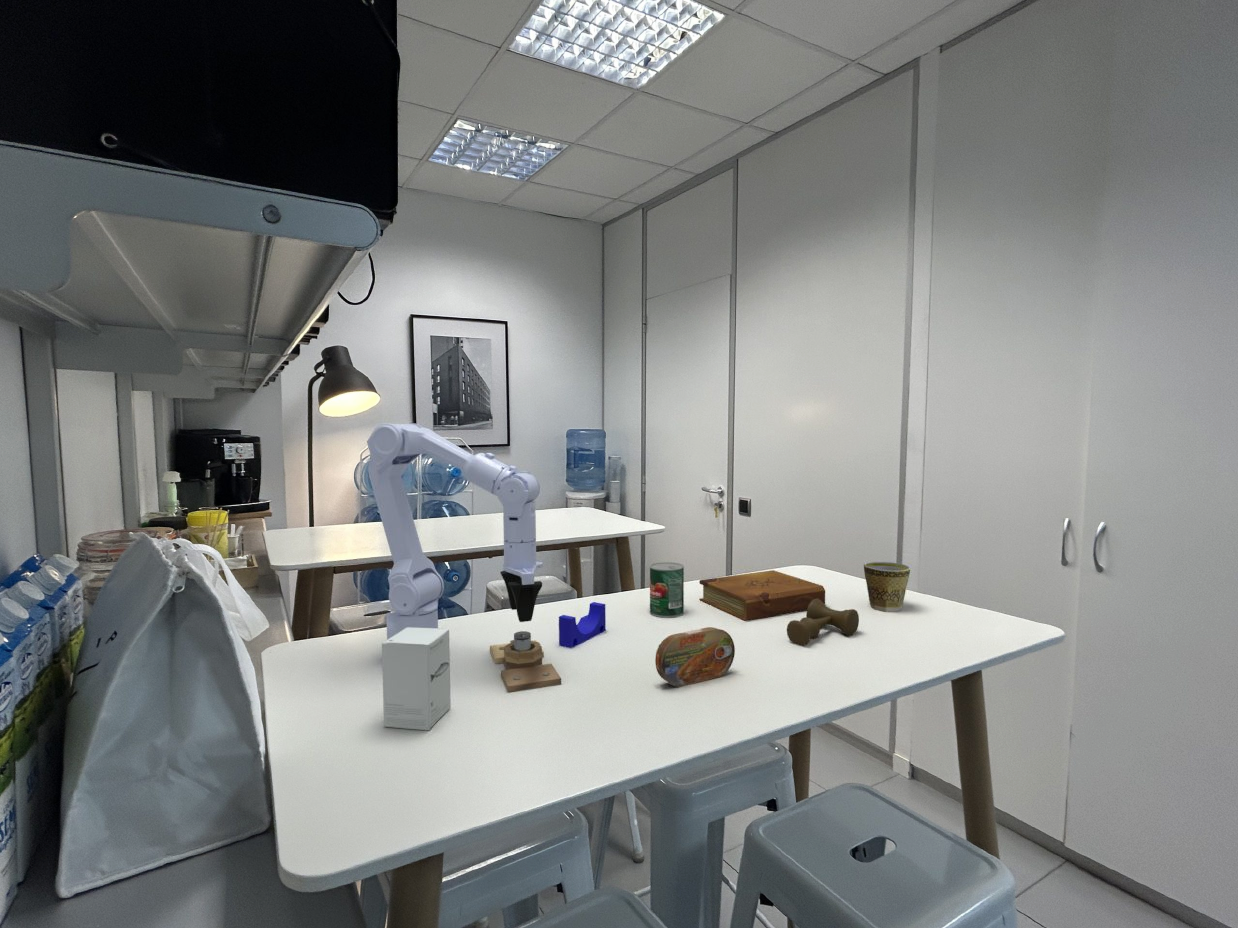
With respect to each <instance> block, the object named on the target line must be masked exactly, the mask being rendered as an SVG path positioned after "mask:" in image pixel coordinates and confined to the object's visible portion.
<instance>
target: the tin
mask: <svg viewBox="0 0 1238 928" xmlns="http://www.w3.org/2000/svg"><path fill="white" fill-rule="evenodd" d="M735 652H736V648H735V642H734V639H733V638H732V636H731V634H729V632H727V631H726V630H723V629H721V628H716V627H712V626H711V627H710V626H709V627H704V628H698V629H697V628H696V629H695V630H693V629H692V630H688V631H683V632H678V633H675V634H671V635H668V636H667V637H666V638H664V639H663V640H661V643H660V644H659V645H658V647H657V649H656V652H655V662H654V663H655V668H656V672H657V674H658V675H659V677H660V678H661V679H662V680H664V681H665V682H667V683H668V684H669V685H671V686H674V687H677V688H682V687H686V686H691V685H693V684H694V685H695V684H698V683H701V682H706V681H709V680H714V679H717V678H720V677H722V676H724V675H725V674H726V673H727V672H728V671H729V670H730V668H731V666H732V665H733V661H734V660H735V654H736V653H735Z"/></svg>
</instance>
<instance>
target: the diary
mask: <svg viewBox="0 0 1238 928" xmlns="http://www.w3.org/2000/svg"><path fill="white" fill-rule="evenodd" d="M699 585H702V587H703V588H702V596H703V597H702V598H699V600H700V601H699V602H701V601H702V603H704V604H705V605H708V606H710V605H711V607H713V608H715V609H717V610H720V611H722V612H724V613H726V614H729V615H730V616H732V617H735V618H737V619H739V620H741V621H743V622H749V621H754V620H760V619H761V620H762V619H766V618H771V617H773V618H774V617H778V616H783V615H784V616H785V615H789V614H795V613H801V612H807V608H808V605H809V604H810V602H811V601H812V600H814V599H819V600H821V601H822V602H823V603H824V604H825V605H826V589H825V588H824V587H825V586H824V585H823V584H822V585H821V584H819V583H815V582H812V581H809V580H806V579H802V578H800V577H796V576H794V575H789V574H786V573H784V572H779V571H777V570H774V569H772V570H765V571H757V572H756V571H755V572H749V573H743V574H735V575H727V576H721V577H712V578H707V579H705V578H704V579H700V580H699Z"/></svg>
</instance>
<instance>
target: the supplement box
mask: <svg viewBox="0 0 1238 928" xmlns="http://www.w3.org/2000/svg"><path fill="white" fill-rule="evenodd" d="M450 652H451V651H450V629H449V628H438V629H437V628H410V627H407V628H405V629H403V630H402V631H400V632H399V633H397V634H396V635H394V636H393V637H391V638H389V639H388V640H387V639H386V640H384V641H383V642H382V643H381V654H382V655H381V656H382V657H381V659H382V660H381V662H382V664H381V665H382V694H383V695H382V698H383V701H382V702H383V703H382V704H383V705H382V706H383V727H385V728H397V729H407V730H419V731H430V730H431V729H432V727H434V725H435V724H436V723H437V722H438V721H439V720H440V719H441V718H442V717H443V716H444V715H445V714H446V713H447V712H448V711H449V710H450V709H451V706H452V702H451V700H452V699H451V659H450V658H451V657H450V656H451V654H450Z"/></svg>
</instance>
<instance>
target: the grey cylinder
mask: <svg viewBox="0 0 1238 928" xmlns="http://www.w3.org/2000/svg"><path fill="white" fill-rule="evenodd" d="M531 634H532V633H531V632H530V631H527V630H526V631H522V630H521V631H517V632H515V633H513V640H514V651H519V652H521V651H529V650H531V641H532V635H531Z"/></svg>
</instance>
